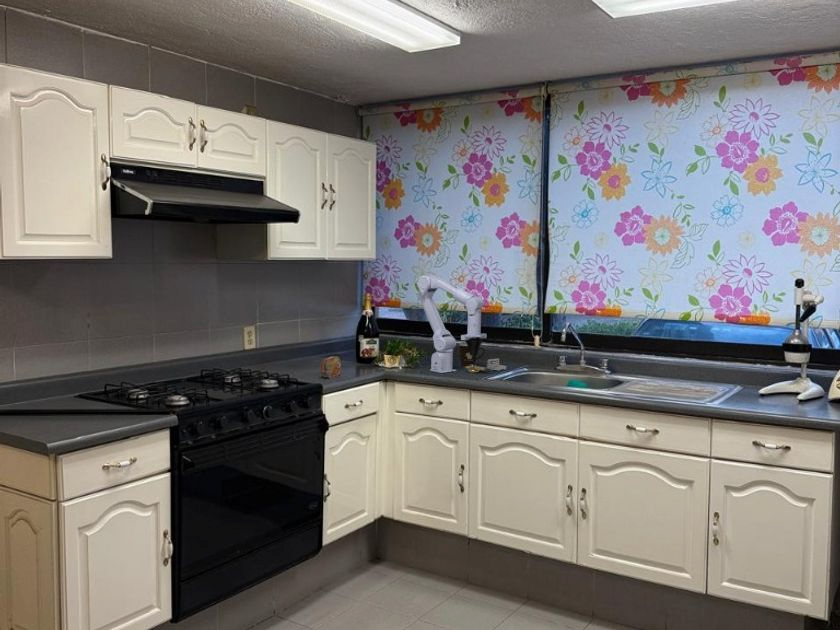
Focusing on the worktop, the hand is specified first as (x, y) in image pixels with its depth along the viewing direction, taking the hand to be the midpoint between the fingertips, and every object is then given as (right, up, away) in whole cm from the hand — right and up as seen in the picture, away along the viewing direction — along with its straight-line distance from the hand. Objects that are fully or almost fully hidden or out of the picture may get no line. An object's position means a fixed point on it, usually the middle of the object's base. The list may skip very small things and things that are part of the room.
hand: (473, 355), depth 331 cm
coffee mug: (+1, -7, +26) cm, 26 cm away
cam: (+3, -8, +6) cm, 10 cm away
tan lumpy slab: (-61, -9, -11) cm, 63 cm away
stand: (+12, -7, +17) cm, 22 cm away
